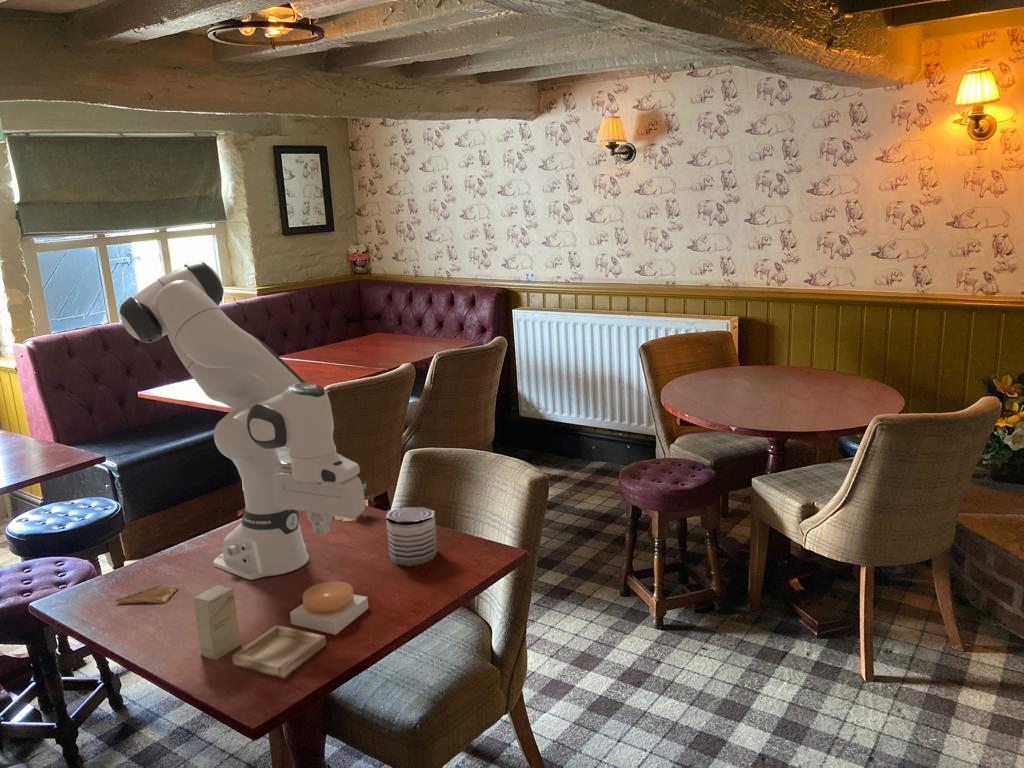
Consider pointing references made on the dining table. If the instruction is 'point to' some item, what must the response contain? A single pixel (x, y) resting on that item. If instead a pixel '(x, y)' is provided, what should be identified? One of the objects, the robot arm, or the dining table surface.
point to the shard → (150, 595)
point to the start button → (328, 596)
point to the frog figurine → (362, 513)
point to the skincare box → (216, 621)
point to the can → (411, 535)
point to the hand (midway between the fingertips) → (321, 532)
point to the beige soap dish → (279, 651)
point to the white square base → (329, 616)
